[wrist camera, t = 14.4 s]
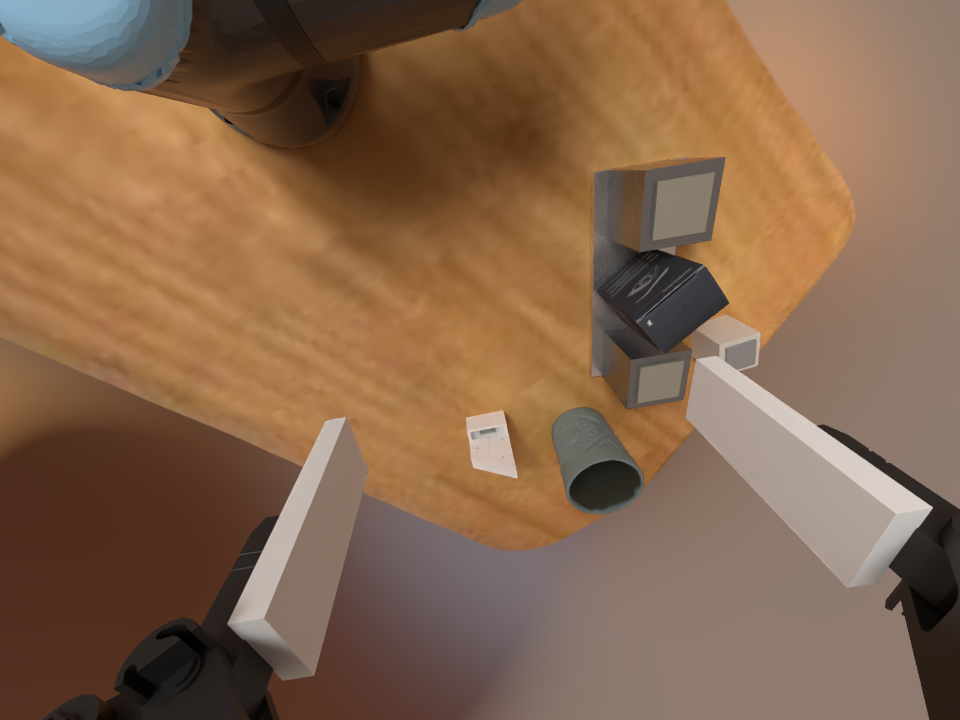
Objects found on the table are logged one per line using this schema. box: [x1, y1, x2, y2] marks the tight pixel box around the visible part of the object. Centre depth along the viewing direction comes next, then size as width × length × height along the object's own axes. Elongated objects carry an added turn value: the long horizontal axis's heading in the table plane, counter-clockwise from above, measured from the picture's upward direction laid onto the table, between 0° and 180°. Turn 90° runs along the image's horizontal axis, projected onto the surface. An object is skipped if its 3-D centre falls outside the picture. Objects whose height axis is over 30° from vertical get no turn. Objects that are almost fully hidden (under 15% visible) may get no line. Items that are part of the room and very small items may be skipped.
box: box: [597, 249, 729, 354], centre depth 39 cm, size 8×6×11 cm
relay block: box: [691, 315, 761, 371], centre depth 47 cm, size 5×5×6 cm
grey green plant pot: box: [552, 407, 644, 514], centre depth 50 cm, size 10×10×12 cm
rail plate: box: [589, 157, 725, 409], centre depth 40 cm, size 26×10×9 cm, turn 8°
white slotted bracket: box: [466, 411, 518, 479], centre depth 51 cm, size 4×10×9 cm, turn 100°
